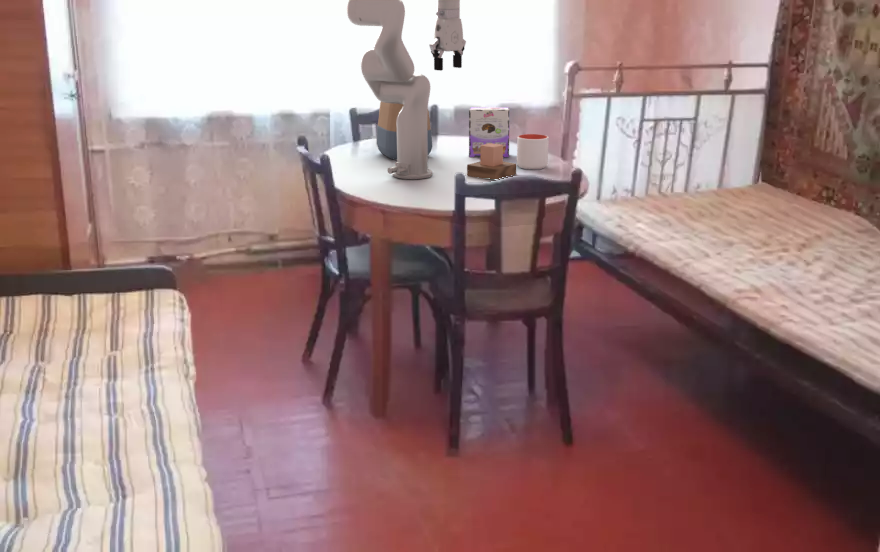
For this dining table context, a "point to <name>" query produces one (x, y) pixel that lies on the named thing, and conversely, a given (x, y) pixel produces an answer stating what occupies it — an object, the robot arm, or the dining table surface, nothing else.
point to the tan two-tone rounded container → (393, 129)
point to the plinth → (491, 170)
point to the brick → (491, 154)
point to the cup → (532, 151)
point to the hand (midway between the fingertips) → (448, 68)
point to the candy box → (488, 128)
